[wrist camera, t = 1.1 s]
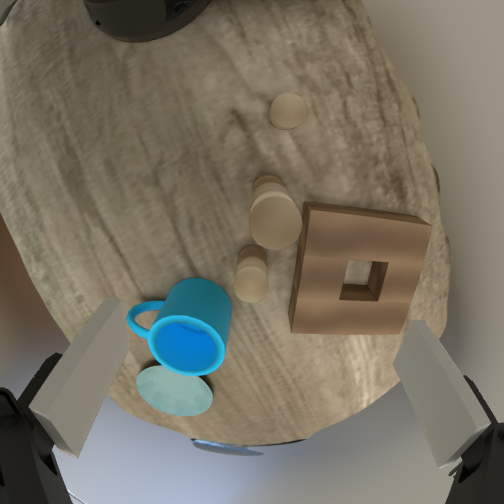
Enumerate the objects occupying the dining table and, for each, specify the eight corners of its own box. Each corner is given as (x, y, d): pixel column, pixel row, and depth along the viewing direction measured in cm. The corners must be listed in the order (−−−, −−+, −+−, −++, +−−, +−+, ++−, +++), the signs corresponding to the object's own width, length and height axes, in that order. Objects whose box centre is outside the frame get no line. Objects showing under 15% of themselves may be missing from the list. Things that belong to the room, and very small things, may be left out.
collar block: (304, 201, 31) (310, 210, 27) (415, 216, 31) (432, 225, 28) (288, 313, 36) (291, 332, 32) (388, 317, 36) (399, 334, 33)
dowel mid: (239, 244, 33) (234, 270, 27) (267, 246, 33) (270, 273, 27) (237, 270, 34) (232, 301, 28) (265, 272, 34) (266, 303, 28)
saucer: (225, 373, 40) (223, 384, 38) (200, 414, 44) (199, 424, 42) (148, 343, 39) (143, 353, 37) (135, 390, 43) (131, 399, 41)
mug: (235, 282, 35) (229, 321, 27) (228, 337, 38) (222, 381, 30) (138, 268, 35) (110, 301, 27) (141, 322, 37) (119, 361, 30)
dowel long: (254, 172, 30) (251, 196, 17) (284, 175, 30) (305, 201, 17) (251, 202, 31) (247, 247, 18) (281, 204, 31) (298, 252, 18)
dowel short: (270, 98, 27) (272, 90, 23) (301, 102, 27) (309, 94, 23) (267, 128, 29) (269, 125, 24) (298, 131, 29) (306, 129, 24)
